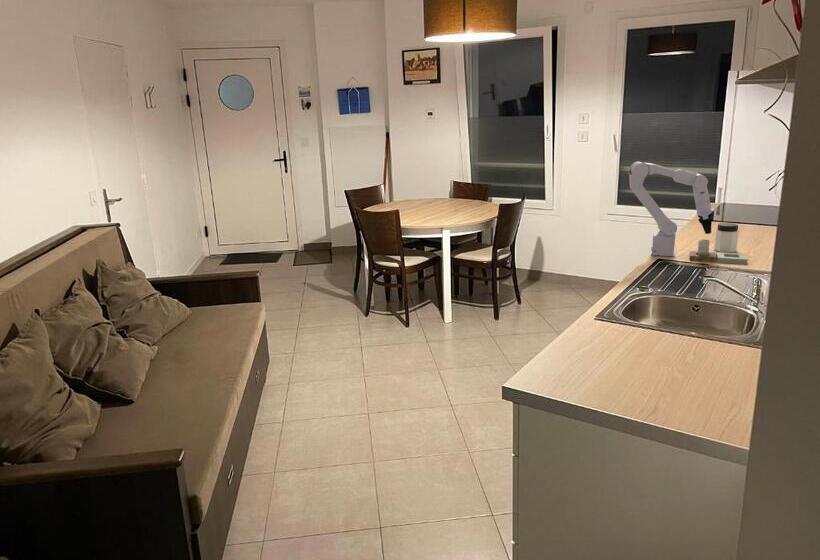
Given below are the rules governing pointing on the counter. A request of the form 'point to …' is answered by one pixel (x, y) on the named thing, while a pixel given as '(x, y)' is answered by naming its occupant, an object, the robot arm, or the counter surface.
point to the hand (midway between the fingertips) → (708, 231)
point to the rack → (731, 258)
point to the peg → (703, 247)
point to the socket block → (702, 256)
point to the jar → (726, 237)
